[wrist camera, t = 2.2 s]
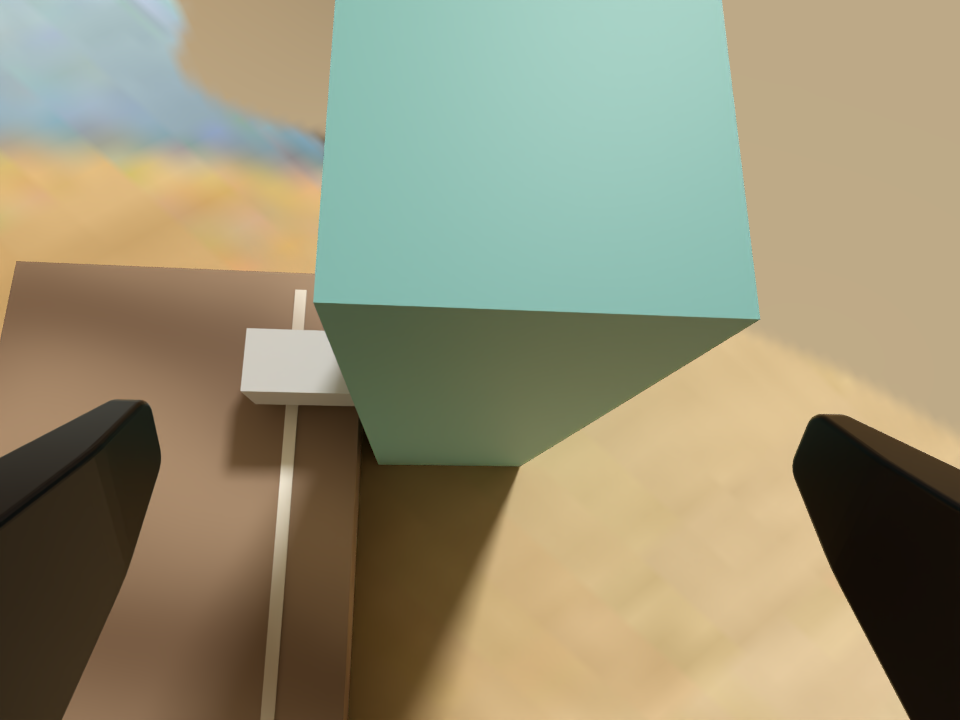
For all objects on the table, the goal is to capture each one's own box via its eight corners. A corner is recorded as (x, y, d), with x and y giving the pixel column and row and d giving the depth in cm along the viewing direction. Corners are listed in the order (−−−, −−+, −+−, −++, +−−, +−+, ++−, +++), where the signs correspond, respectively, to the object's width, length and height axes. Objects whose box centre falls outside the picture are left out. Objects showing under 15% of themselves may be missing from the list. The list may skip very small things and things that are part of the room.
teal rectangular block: (520, 466, 18) (760, 319, 6) (267, 463, 18) (-70, 287, 5) (517, 332, 19) (717, -33, 7) (279, 324, 19) (23, -101, 6)
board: (326, 1163, 14) (316, 1239, 12) (-129, 1208, 13) (-199, 1296, 11) (368, 295, 19) (365, 275, 18) (47, 283, 18) (15, 260, 17)
